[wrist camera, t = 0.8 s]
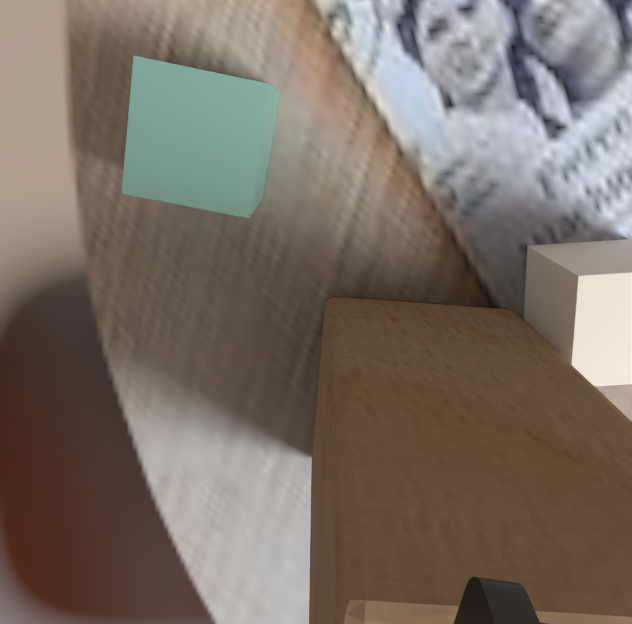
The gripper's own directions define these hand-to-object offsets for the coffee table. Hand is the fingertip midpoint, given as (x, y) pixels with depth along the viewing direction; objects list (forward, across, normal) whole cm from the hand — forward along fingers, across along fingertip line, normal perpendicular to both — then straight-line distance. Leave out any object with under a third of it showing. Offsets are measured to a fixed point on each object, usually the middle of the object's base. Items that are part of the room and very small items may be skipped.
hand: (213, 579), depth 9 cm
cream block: (+21, -15, -1) cm, 26 cm away
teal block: (+21, +4, -5) cm, 22 cm away
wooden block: (+21, -8, +6) cm, 23 cm away
